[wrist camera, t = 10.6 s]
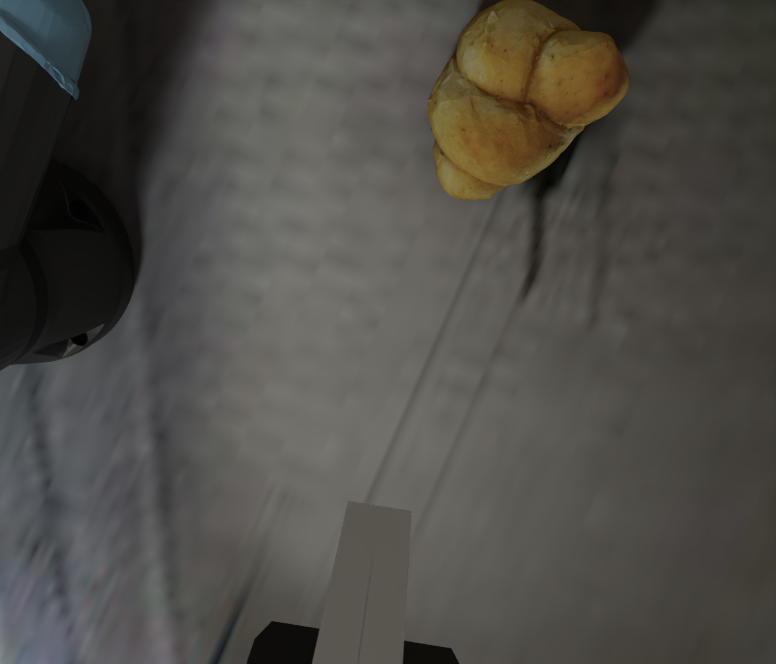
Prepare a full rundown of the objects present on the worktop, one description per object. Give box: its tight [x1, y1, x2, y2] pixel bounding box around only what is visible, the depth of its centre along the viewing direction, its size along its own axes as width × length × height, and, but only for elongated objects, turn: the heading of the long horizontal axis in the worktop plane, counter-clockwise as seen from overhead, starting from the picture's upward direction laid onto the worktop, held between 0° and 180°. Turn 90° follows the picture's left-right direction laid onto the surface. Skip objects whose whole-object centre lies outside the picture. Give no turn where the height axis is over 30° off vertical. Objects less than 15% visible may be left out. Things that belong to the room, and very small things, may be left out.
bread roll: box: [427, 0, 630, 200], centre depth 41 cm, size 13×10×8 cm
